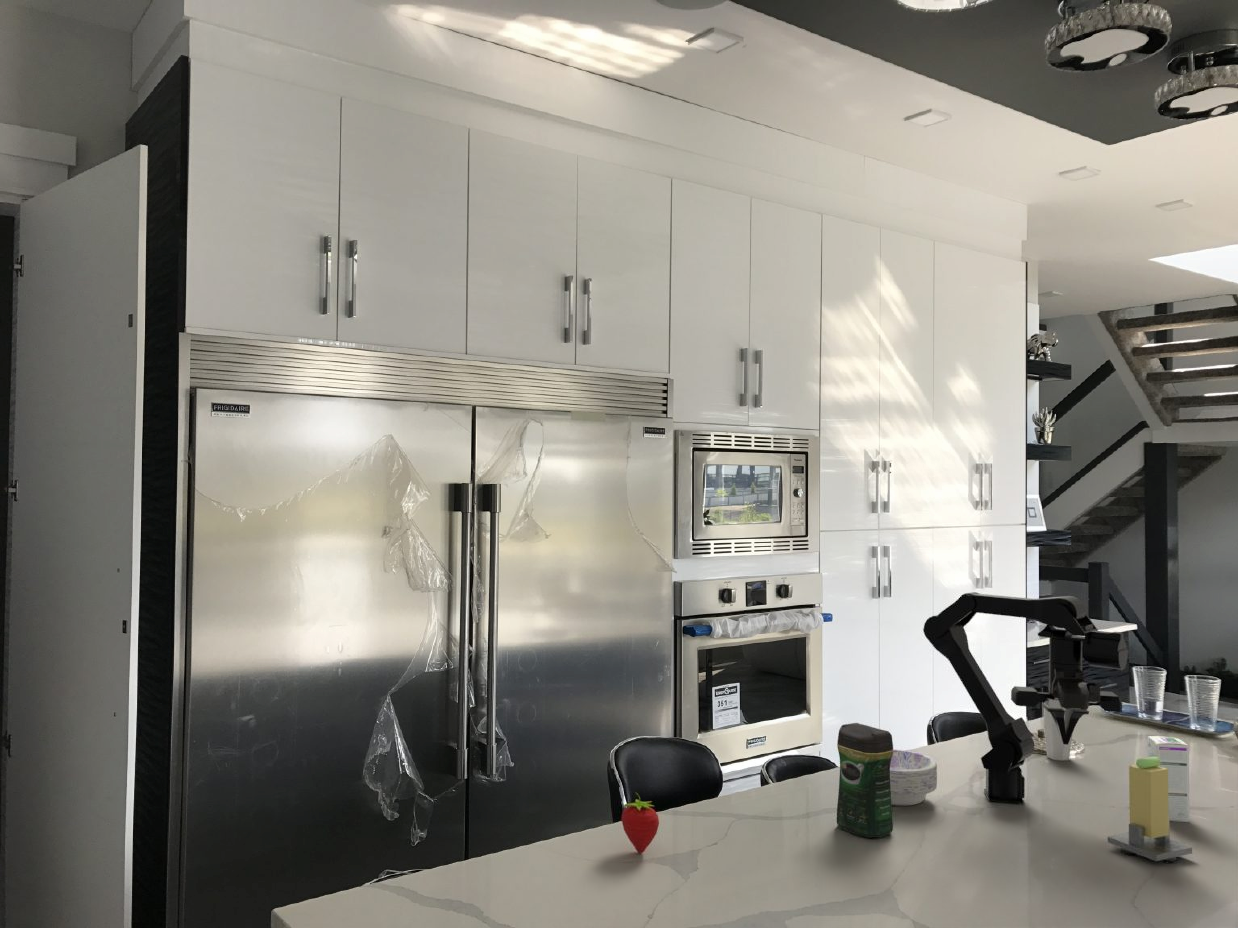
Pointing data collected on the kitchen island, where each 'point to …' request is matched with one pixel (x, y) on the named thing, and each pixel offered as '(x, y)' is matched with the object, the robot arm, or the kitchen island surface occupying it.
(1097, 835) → the kitchen island surface
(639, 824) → the strawberry
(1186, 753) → the syrup box
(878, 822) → the coffee jar
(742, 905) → the kitchen island surface
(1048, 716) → the faceted bottle
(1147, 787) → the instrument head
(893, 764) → the paper bowls
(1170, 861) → the base
